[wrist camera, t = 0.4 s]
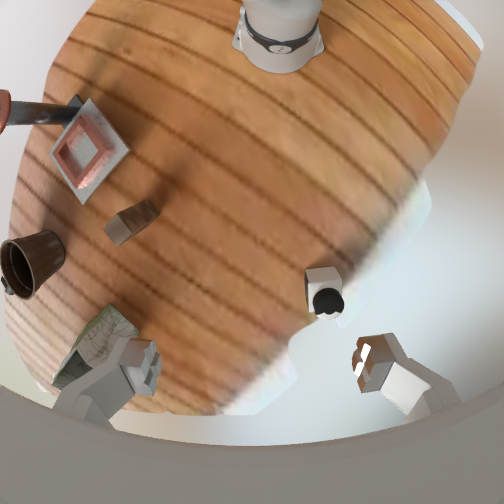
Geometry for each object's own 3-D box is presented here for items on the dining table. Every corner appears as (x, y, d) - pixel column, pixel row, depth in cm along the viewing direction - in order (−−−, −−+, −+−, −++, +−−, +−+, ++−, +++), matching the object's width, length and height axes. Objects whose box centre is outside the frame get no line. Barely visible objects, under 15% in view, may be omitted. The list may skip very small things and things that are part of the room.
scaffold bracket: (142, 149, 52) (45, 156, 24) (97, 199, 57) (5, 238, 29) (88, 80, 46) (-2, 60, 18) (50, 130, 50) (-38, 137, 22)
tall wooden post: (159, 214, 57) (131, 232, 44) (146, 226, 58) (117, 247, 45) (147, 199, 56) (116, 213, 43) (134, 212, 57) (102, 228, 44)
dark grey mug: (20, 289, 69) (9, 298, 63) (10, 274, 67) (-1, 282, 61) (27, 276, 67) (15, 285, 60) (17, 260, 65) (4, 268, 59)
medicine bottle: (303, 268, 60) (311, 295, 49) (334, 265, 59) (348, 291, 48) (305, 296, 62) (312, 326, 51) (334, 293, 62) (346, 321, 51)
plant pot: (31, 221, 60) (-6, 238, 45) (65, 222, 59) (25, 242, 44) (40, 271, 65) (8, 294, 50) (74, 277, 65) (41, 305, 50)
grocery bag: (106, 299, 66) (61, 349, 45) (142, 333, 70) (107, 390, 48) (71, 345, 75) (38, 387, 54) (100, 371, 78) (71, 417, 57)
